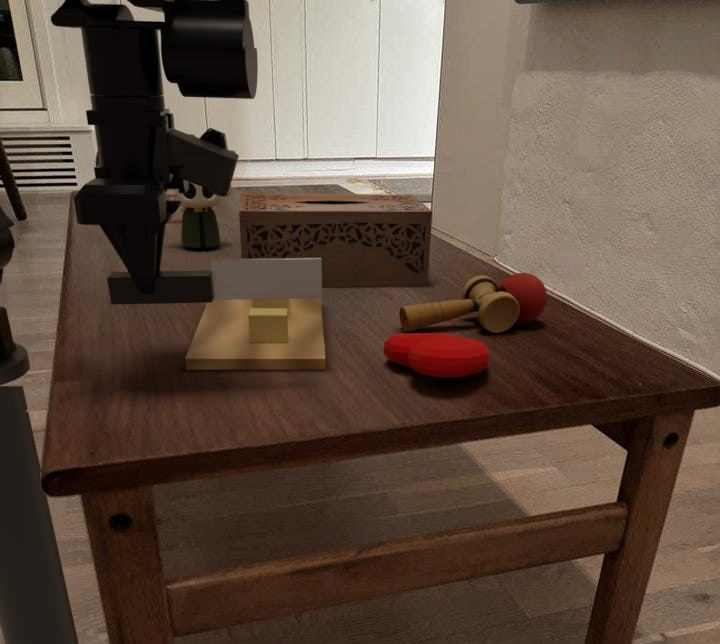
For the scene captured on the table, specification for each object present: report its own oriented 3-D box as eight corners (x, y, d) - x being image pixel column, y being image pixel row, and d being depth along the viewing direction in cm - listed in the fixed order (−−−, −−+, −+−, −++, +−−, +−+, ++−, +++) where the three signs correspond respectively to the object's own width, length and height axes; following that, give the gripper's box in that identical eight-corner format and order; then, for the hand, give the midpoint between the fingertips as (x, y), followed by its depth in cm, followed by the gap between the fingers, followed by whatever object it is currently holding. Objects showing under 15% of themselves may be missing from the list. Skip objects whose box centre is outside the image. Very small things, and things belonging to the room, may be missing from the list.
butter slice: (249, 342, 78) (248, 315, 76) (251, 335, 80) (249, 308, 78) (287, 342, 78) (287, 315, 77) (288, 335, 80) (287, 308, 79)
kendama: (419, 355, 83) (562, 322, 86) (411, 298, 81) (558, 267, 84) (397, 344, 90) (530, 314, 94) (389, 292, 88) (526, 263, 91)
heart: (458, 364, 82) (375, 365, 78) (462, 325, 80) (378, 324, 77) (518, 386, 71) (426, 388, 67) (524, 342, 70) (430, 341, 66)
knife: (111, 304, 66) (104, 264, 64) (116, 297, 68) (109, 258, 66) (322, 300, 68) (321, 260, 66) (321, 294, 69) (320, 255, 68)
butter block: (253, 318, 85) (252, 292, 84) (256, 301, 91) (255, 277, 90) (288, 318, 85) (287, 293, 84) (288, 301, 91) (288, 277, 90)
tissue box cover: (243, 287, 101) (239, 211, 96) (244, 262, 113) (240, 193, 108) (427, 285, 104) (432, 211, 99) (408, 261, 117) (412, 194, 112)
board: (185, 370, 74) (184, 358, 73) (209, 306, 93) (209, 297, 92) (325, 369, 75) (325, 358, 74) (320, 307, 94) (320, 297, 93)
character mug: (169, 253, 118) (160, 165, 111) (166, 243, 124) (158, 160, 117) (237, 250, 120) (232, 164, 114) (231, 241, 126) (226, 159, 120)
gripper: (219, 104, 52) (232, 321, 59) (236, 93, 68) (245, 265, 76) (55, 100, 51) (90, 321, 58) (112, 90, 67) (134, 264, 75)
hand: (150, 289), depth 67 cm, fingers closed on knife, 2 cm apart
